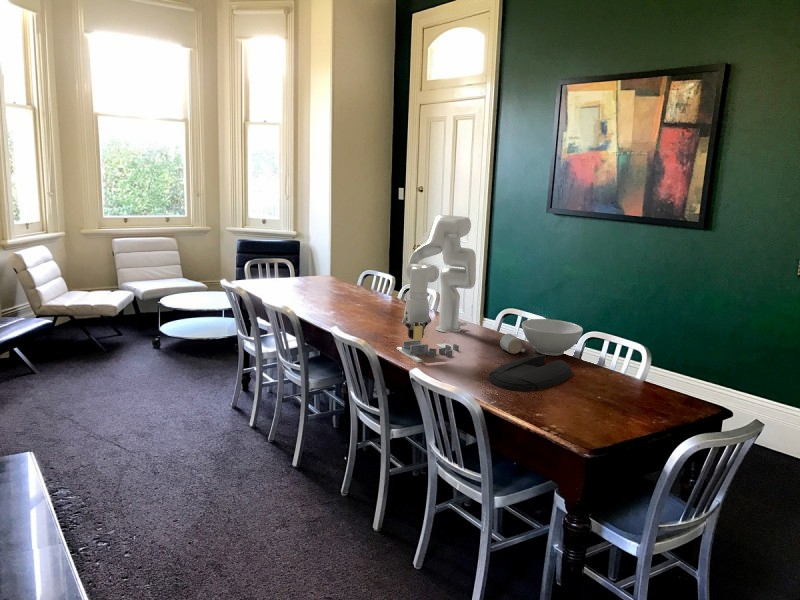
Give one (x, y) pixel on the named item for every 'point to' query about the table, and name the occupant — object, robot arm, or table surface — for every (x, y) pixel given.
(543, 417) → the table surface
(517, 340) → the ceramic mug
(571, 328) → the decorative bowl
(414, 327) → the connector
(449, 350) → the board
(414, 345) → the end holder
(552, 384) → the folded dark cloth
